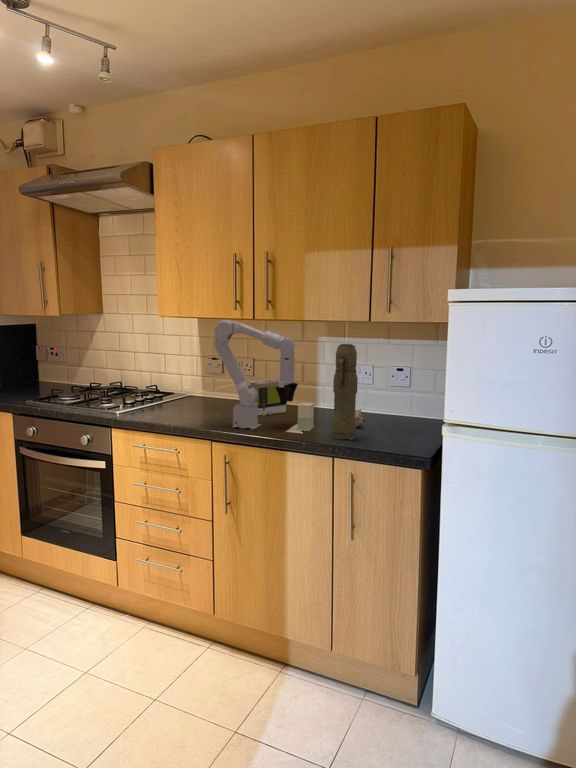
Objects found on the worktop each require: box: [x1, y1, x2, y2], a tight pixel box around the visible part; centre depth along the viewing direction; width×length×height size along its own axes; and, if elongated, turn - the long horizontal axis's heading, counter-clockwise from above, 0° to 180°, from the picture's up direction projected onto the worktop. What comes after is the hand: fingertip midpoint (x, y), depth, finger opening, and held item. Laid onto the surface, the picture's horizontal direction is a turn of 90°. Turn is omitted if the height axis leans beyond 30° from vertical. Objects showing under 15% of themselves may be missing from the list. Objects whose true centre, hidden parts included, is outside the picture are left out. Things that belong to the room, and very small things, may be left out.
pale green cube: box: [297, 416, 314, 431], centre depth 212 cm, size 5×5×5 cm
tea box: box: [248, 378, 287, 417], centre depth 243 cm, size 15×10×15 cm, turn 126°
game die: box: [355, 408, 366, 428], centre depth 217 cm, size 9×8×10 cm
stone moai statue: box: [331, 343, 359, 439], centre depth 198 cm, size 9×12×35 cm
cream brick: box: [297, 402, 315, 419], centre depth 211 cm, size 5×5×5 cm
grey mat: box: [285, 423, 303, 434], centre depth 212 cm, size 12×14×1 cm
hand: (286, 402), depth 214 cm, fingers open, 7 cm apart
